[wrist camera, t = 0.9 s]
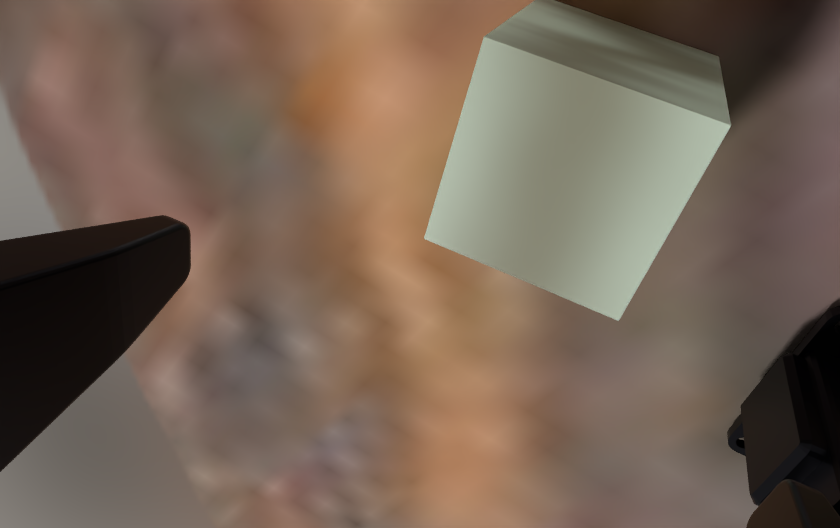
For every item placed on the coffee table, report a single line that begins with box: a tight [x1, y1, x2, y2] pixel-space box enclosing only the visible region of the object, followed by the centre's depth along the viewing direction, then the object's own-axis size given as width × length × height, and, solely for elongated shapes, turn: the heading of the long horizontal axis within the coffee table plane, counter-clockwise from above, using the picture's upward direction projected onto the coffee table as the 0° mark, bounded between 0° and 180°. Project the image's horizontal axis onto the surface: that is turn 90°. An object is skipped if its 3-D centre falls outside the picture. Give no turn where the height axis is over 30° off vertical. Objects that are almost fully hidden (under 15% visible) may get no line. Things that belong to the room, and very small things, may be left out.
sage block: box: [424, 0, 731, 321], centre depth 16 cm, size 5×5×6 cm
